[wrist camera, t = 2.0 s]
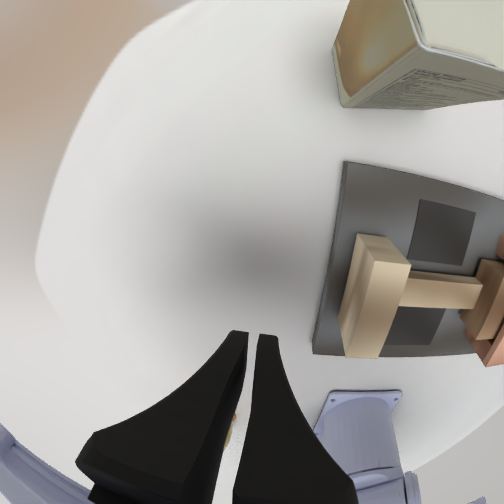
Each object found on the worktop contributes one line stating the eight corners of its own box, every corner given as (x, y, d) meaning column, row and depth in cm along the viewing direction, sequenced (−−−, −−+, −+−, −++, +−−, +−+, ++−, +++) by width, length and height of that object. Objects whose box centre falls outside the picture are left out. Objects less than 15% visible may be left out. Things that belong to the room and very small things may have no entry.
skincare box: (415, 53, 12) (530, -9, 1) (426, 112, 14) (568, 103, 2) (325, 47, 13) (368, -77, 2) (336, 109, 15) (423, 48, 4)
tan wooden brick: (516, 320, 16) (536, 345, 12) (337, 317, 18) (345, 357, 14) (539, 263, 13) (565, 283, 10) (356, 233, 15) (374, 260, 12)
